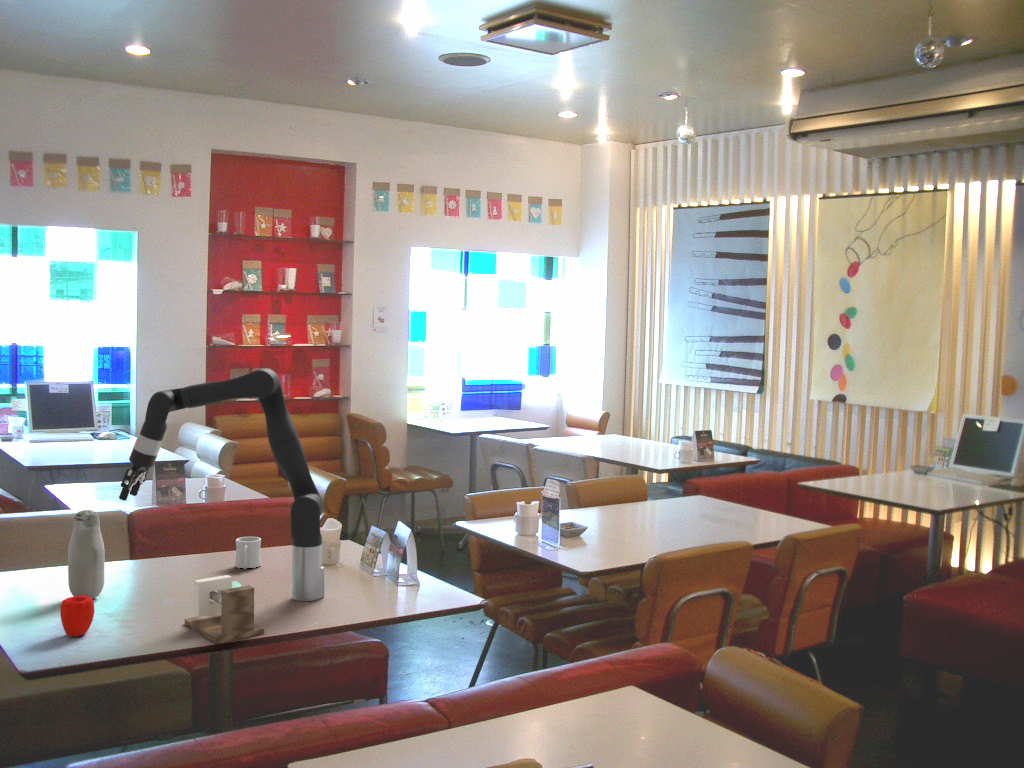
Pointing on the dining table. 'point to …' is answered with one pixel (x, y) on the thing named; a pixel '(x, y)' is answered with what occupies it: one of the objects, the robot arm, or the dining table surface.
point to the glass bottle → (86, 556)
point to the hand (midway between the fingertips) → (127, 497)
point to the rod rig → (229, 616)
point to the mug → (248, 552)
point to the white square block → (203, 594)
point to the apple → (77, 614)
